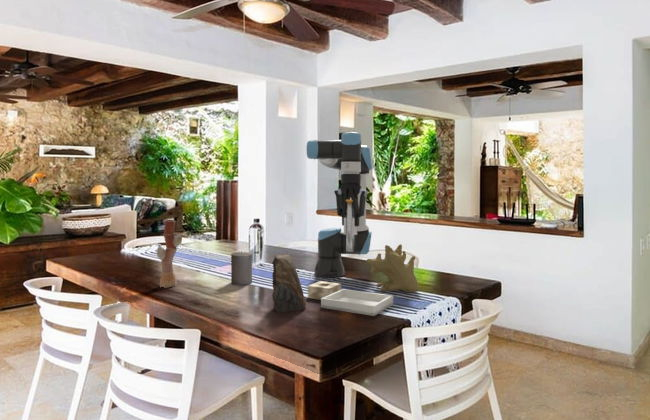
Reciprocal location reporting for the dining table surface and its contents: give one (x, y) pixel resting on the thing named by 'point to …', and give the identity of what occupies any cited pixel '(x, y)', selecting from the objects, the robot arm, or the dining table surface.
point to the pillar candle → (241, 268)
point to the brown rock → (286, 285)
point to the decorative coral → (395, 270)
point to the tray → (357, 302)
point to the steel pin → (349, 226)
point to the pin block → (322, 289)
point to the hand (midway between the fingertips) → (350, 234)
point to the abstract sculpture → (168, 254)
